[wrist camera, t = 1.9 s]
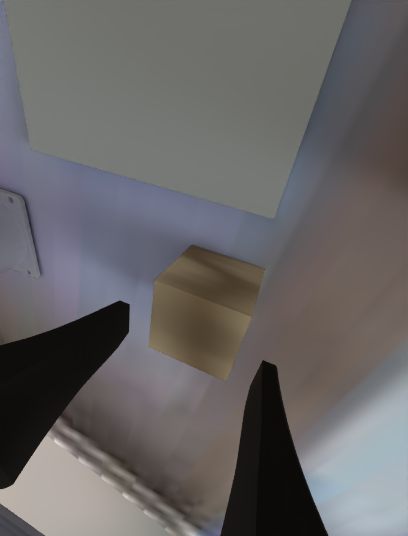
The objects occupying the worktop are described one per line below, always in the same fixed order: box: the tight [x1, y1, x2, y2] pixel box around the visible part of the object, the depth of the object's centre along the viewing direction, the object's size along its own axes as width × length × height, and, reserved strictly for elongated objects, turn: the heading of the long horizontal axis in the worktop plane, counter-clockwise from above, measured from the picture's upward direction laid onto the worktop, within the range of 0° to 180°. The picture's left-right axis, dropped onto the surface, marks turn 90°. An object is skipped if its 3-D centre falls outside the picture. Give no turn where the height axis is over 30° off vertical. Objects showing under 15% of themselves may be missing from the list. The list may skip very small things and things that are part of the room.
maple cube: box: [149, 245, 265, 381], centre depth 15 cm, size 5×5×5 cm
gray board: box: [4, 0, 352, 219], centre depth 11 cm, size 16×12×1 cm
